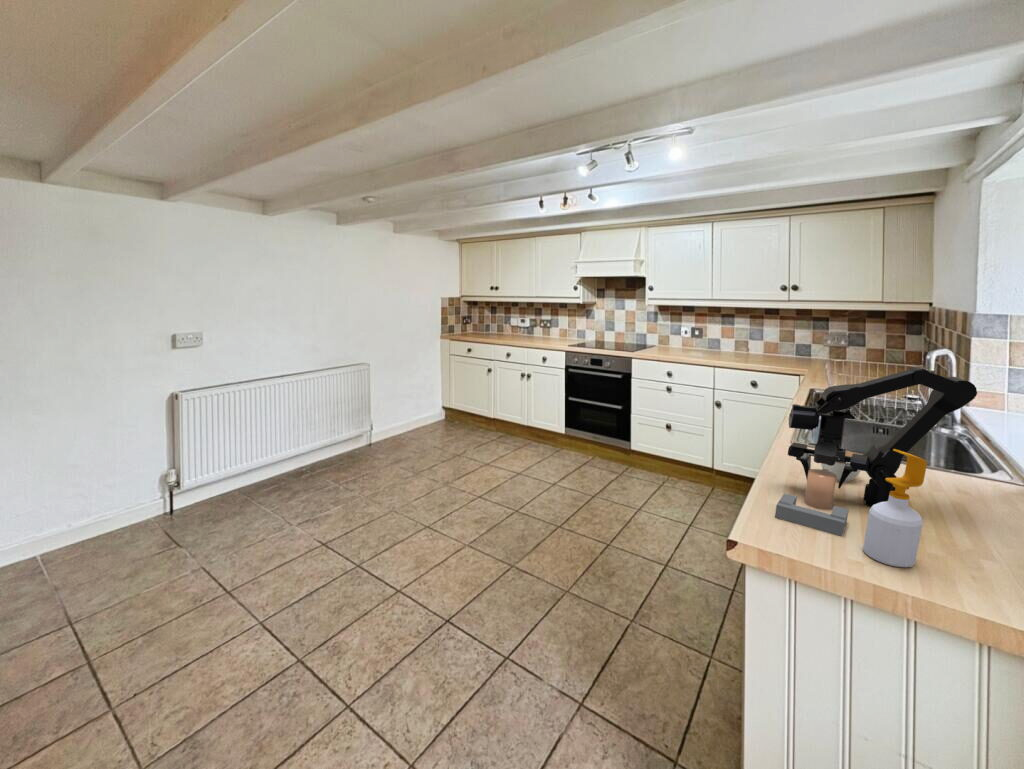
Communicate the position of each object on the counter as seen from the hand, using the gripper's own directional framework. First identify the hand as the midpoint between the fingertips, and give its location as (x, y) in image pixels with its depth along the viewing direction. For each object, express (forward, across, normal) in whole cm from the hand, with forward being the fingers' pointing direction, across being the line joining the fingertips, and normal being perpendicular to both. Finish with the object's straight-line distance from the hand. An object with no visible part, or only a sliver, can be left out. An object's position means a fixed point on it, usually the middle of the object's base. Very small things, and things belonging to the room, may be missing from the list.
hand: (823, 484), depth 133 cm
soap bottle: (+4, +16, -27) cm, 32 cm away
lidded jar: (+4, +2, +19) cm, 19 cm away
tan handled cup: (+4, 0, -5) cm, 6 cm away
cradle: (+4, 0, -19) cm, 19 cm away
